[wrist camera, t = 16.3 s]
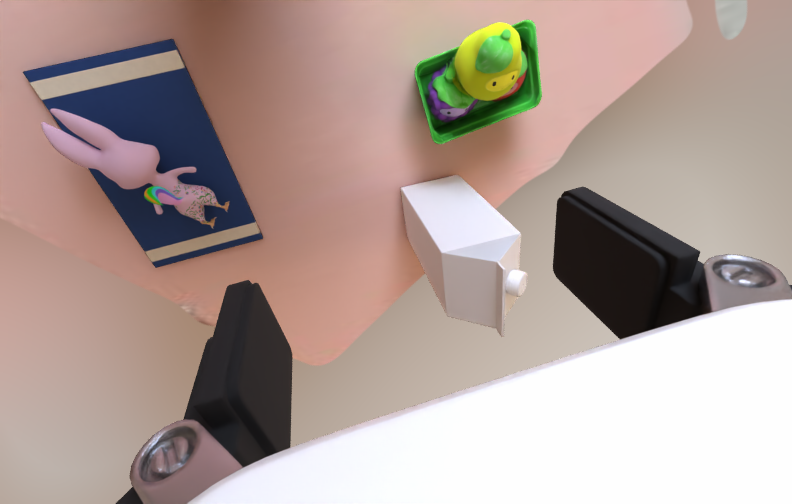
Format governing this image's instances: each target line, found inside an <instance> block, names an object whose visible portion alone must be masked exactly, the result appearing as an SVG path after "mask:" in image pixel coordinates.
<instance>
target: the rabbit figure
mask: <svg viewBox="0 0 792 504" xmlns="http://www.w3.org/2000/svg"><path fill="white" fill-rule="evenodd" d="M50 112H51V113H52V114H53V115H54V116H55V117H57V118H58V119H59V120H60V121H61V122H62V123H63V124H64V125H65V126H66V127H67V128H68V129H69V130H71V131H72V132H73V133H75V134H76V135H78V136H80V137H81V138H83V139H84V140H86V141H87V142H89V143H90V144H92V145H94V146H96V147H98V148H100V149H101V150H98V149H96V148H94V147H92V146H90V145H88V144H87V143H85V142H83V141H81V140H79V139H77V138H75V137H73V136H71V135H69V134H67V133H65V132H64V131H61V130H59V129H57V128H55V127H53V126H51V125H49V124H47V123H45V122H42V123H41V126H42V129H43V131H44V133H45V135H46V137H47V138H48V140H49V142H50V143H51V144H52V146H53V147H54V148H55V149H56V150H57V151H58V152H59V153H61V154H62V155H63V156H65V157H66V158H68V159H69V160H71V161H72V162H74V163H76V164H78V165H80V166H83V167H86V168H93V169H97V170H99V171H101V172H102V173H103V174H104V175H105V176H106V177H108V178H109V179H111V180H113V181H114V182H116V183H117V184H118V185H119V186H120V187H121V188H123V189H135V188H139V187H141V186H143V185H145V184H147V183H151V184H152V185H153V187H149V188H148V189H146V191H145V192H144V197H145V199H146V200H148V201H149V202H151V203H153V204H154V207H155V210H156V213H157V214H162V213H163V210H162V208H161V206H160V205H162V204H161V203H163V204H169V205H174V206H175V208H176V209H177V210H178V211H179V212H180V213H181V214H183V215H185V216H189V217H191V218H193V219H196V220H198V221H200V222H201V223H202V224H208V225H211V227H212V228H213V226H214V222H215V218H216V217H215V218H214V219H211V221H210V222H207V221H206V220H205V218H204V206H203V205H211V206H216V207H221V208H224V209H225V210H226V212H227V210H228V206H229V203H228V202H226V203H225V205H224V206H222V205H220V204H219V203H218V202H217V199H216V197H215V194H214V192H213V191H212V190H211V189H209V188H207V187H204V186H199V185H187V184H183V183H182V182H180V181H179V180H178V179H177V177H178V176H179V175H180V174H182V173H194V172H196V168H195V167H182V168H177V169H174V170H171V171H168V172H166V173H164V174H160V173H158V172H157V171H156V167H157V165H158V163H159V160H160V156H159V152H158V150H157V149H156V147H154V146H153V145H148V144H143V143H138V142H132V141H127V140H123V139H121V138H119V137H118V136H117V135H116V134H115V133H113V132H112V131H111V130H109V129H107V128H105V127H103V126H101V125H99V124H97V123H94V122H92V121H89V120H87V119H85V118H82V117H80V116H77V115H74V114H71V113H68V112H66V111H63V110H59V109H50ZM213 229H214V228H213Z"/></svg>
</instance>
